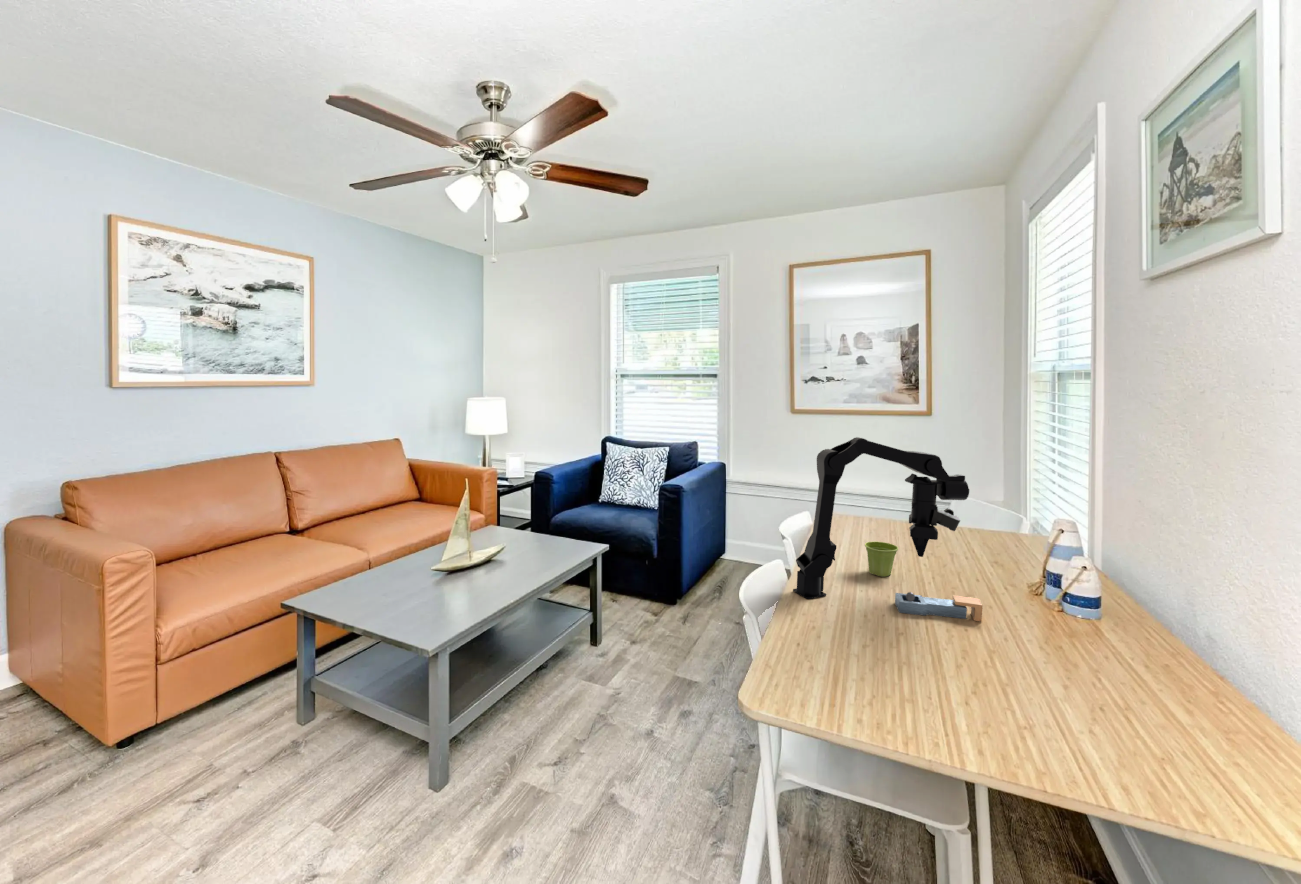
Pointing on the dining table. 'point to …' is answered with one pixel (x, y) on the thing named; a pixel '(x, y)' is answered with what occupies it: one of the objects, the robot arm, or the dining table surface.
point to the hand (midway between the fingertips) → (920, 556)
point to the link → (929, 606)
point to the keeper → (970, 605)
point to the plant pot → (880, 557)
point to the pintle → (910, 597)
